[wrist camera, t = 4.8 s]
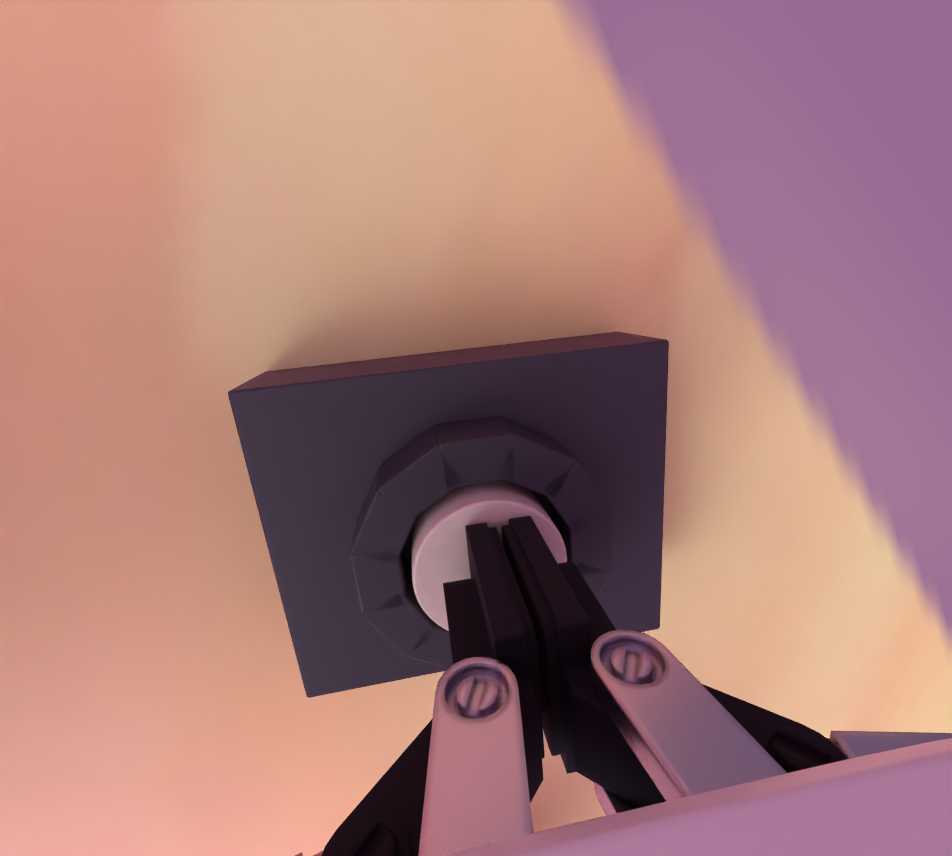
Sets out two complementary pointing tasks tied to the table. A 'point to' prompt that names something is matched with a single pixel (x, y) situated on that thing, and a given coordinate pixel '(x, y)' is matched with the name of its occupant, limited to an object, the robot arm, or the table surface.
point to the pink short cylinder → (445, 542)
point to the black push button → (450, 483)
